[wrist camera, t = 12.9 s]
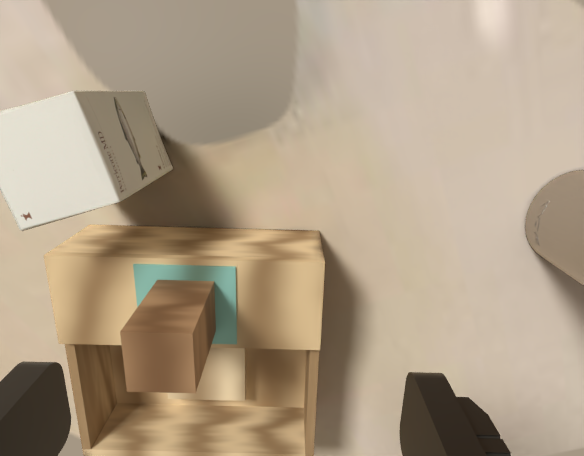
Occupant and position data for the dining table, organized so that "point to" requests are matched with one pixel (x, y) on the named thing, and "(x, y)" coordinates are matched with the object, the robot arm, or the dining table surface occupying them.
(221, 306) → the crate
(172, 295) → the block
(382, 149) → the dining table surface
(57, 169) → the supplement box
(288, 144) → the dining table surface
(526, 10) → the dining table surface
